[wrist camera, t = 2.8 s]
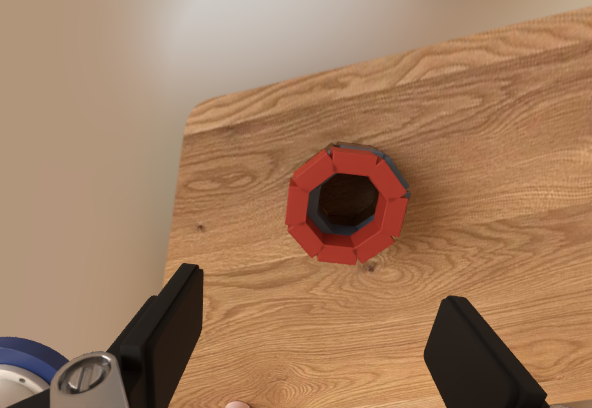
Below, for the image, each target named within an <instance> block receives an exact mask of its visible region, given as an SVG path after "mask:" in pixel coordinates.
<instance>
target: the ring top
mask: <svg viewBox="0 0 592 408" xmlns="http://www.w3.org/2000/svg"><path fill="white" fill-rule="evenodd" d="M335 173H343V174H352V175H361V176H367V177H368V178H369V179H370V181H371V182H372V183H373V185H374V186H375V187H376V189H377V190H378V191H379V197H378V202H377V206H376V211H375V216H374V220H373V221H371V222H370V223H368V224H367V225H365V226H364V227H362V228H361V229H359V230H358V231H356V232H355V233H354V234H352V235H351V236H347V235H337V234H328V233H322V232H321V230H320V229H319V228H318V227H317V226H316V224H315V223H314V222H313V221H312V220H311V219H310V217H309V216H308V215H307V207H308V200H309V192H311V191H312V190H313V189H315V188H316V187H317V186H319V185H320V184H321V183H323V182H324V181H325V180H327V179H328V178H329V177H331V176H332V175H333V174H335ZM406 193H407V191H406V190H405V188H404V187H403V186H402V184H401V183H400V181H399V180H398V179H397V177H396V176H395V174H394V173H393V171H392V170H391V169H390V167H389V166H388V164H387V163H386V162H385V160H384V159H382V158H381V157H379V156H378V155H375V154H374V153H372V152H371V151H366V150H357V149H348V148H339V147H331V150H330V155H329V153H328V152H327V151H326V150H325V149H323V150H322V151H321V152H319V153H318V154H317V155H316V156H314V157H313V158H312V159H311V160H309V161H308V162H307V163H305V164H304V165H303V166H302V167H300V168H299V169H298V170H297V171H295V172H294V175H293V179H292V178H291V179H290V184H289V192H288V201H287V211H286V220H285V225H288V232H289V233H290V234H291V235H292V236H293V238H294V239H295V240H296V241H297V242H298V243H299V244H300V245H301V247H302V248H303V249H304V250H305V251H306V252H307V253H308V255H309V256H310V257H311V258H313V257H314V256H316V255H317V261H321V262H331V263H340V264H349V265H356V261H357V258H358V260H359V261H360V262H361V263H362V264H363V263H364V262H366V261H367V260H369V259H370V258H372V257H373V256H375V255H376V254H378V253H379V252H381V251H383V250H384V249H386V248H387V247H389V246H390V245H392V244H393V243H395V241H394V240H393V238H392V237H391V236H395V237H399V235H400V231H401V227H402V223H403V219H404V215H405V211H406V207H407V203H408V198H407V197H405V196H404V194H406Z"/></svg>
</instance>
